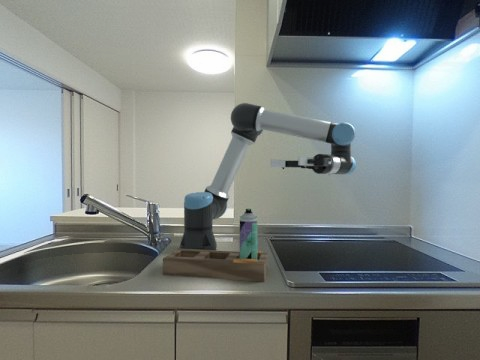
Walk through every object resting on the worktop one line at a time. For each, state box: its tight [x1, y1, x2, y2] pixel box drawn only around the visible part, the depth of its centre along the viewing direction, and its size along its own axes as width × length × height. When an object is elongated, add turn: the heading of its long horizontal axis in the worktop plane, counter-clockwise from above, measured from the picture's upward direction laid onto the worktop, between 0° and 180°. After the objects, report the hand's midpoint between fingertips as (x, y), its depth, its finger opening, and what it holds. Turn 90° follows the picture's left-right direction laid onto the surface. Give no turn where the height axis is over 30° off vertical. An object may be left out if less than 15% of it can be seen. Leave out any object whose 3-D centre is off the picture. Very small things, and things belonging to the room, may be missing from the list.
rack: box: [162, 248, 269, 283], centre depth 87 cm, size 12×31×6 cm, turn 79°
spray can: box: [239, 208, 258, 259], centre depth 85 cm, size 6×6×20 cm
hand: (284, 162), depth 93 cm, fingers open, 13 cm apart
